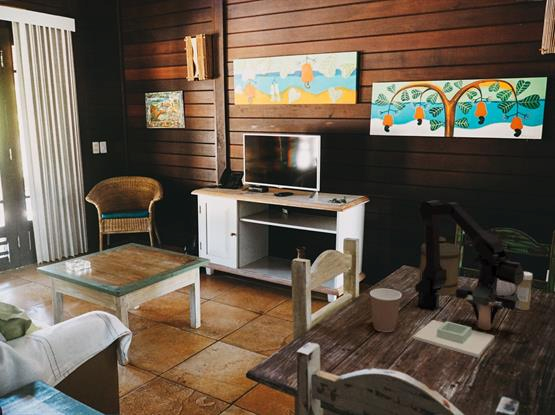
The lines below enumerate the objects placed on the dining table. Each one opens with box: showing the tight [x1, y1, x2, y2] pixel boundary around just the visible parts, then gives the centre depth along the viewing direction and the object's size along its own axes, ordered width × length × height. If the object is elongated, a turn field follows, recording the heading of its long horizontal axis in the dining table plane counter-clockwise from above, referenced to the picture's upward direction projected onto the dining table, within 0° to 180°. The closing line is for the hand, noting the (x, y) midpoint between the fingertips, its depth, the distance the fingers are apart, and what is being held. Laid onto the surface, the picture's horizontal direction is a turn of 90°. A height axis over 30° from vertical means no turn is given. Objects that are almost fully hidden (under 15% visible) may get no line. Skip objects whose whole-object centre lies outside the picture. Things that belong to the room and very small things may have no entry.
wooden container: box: [419, 236, 460, 296], centre depth 198 cm, size 15×15×22 cm
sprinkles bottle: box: [516, 271, 534, 311], centre depth 178 cm, size 5×5×13 cm
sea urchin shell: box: [497, 279, 517, 297], centre depth 195 cm, size 13×14×8 cm
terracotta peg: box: [477, 302, 494, 331], centre depth 162 cm, size 4×4×8 cm
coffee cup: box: [369, 288, 402, 333], centre depth 162 cm, size 10×10×12 cm
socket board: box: [412, 319, 495, 358], centre depth 154 cm, size 20×16×4 cm
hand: (484, 321), depth 163 cm, fingers open, 4 cm apart
